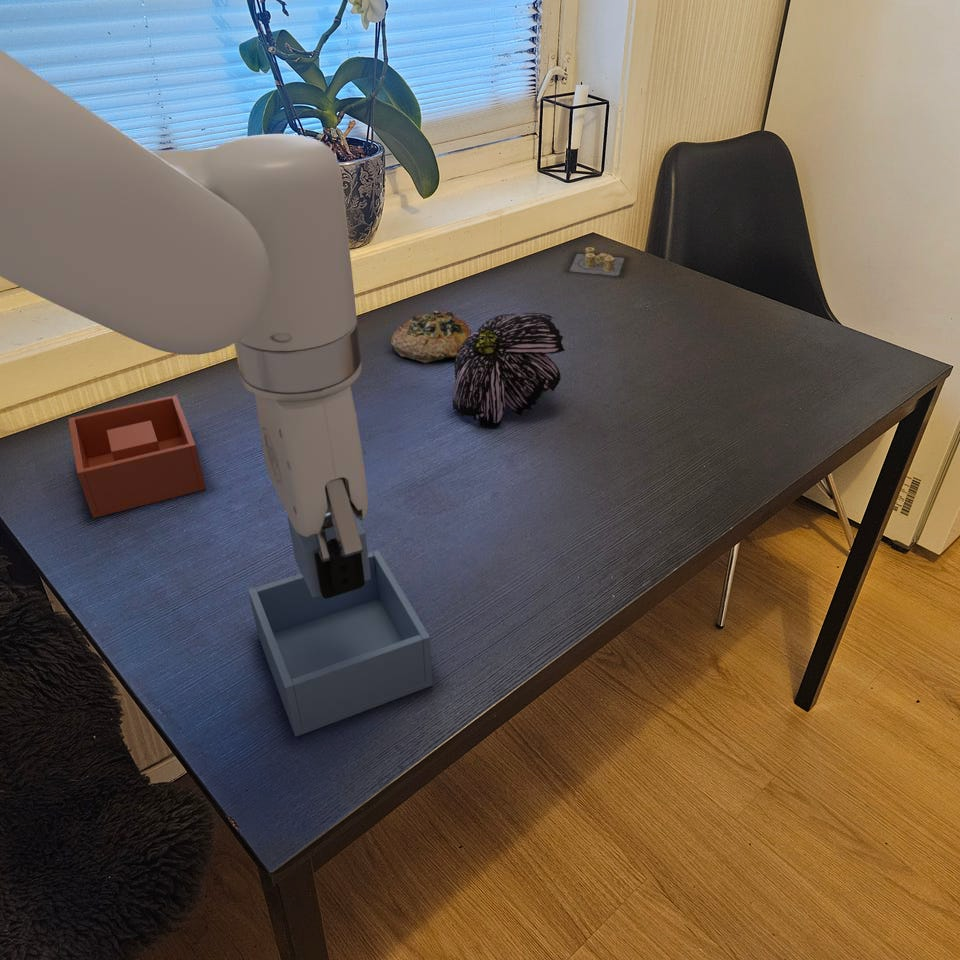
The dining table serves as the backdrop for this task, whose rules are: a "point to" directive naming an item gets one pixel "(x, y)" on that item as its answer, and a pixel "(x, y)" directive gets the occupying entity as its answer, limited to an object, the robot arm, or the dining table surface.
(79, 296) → the robot arm
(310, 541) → the slate block
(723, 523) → the dining table surface
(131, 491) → the terracotta bin
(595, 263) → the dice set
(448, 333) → the bread roll
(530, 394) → the decorative flower
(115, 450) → the terracotta block
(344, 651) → the slate bin
